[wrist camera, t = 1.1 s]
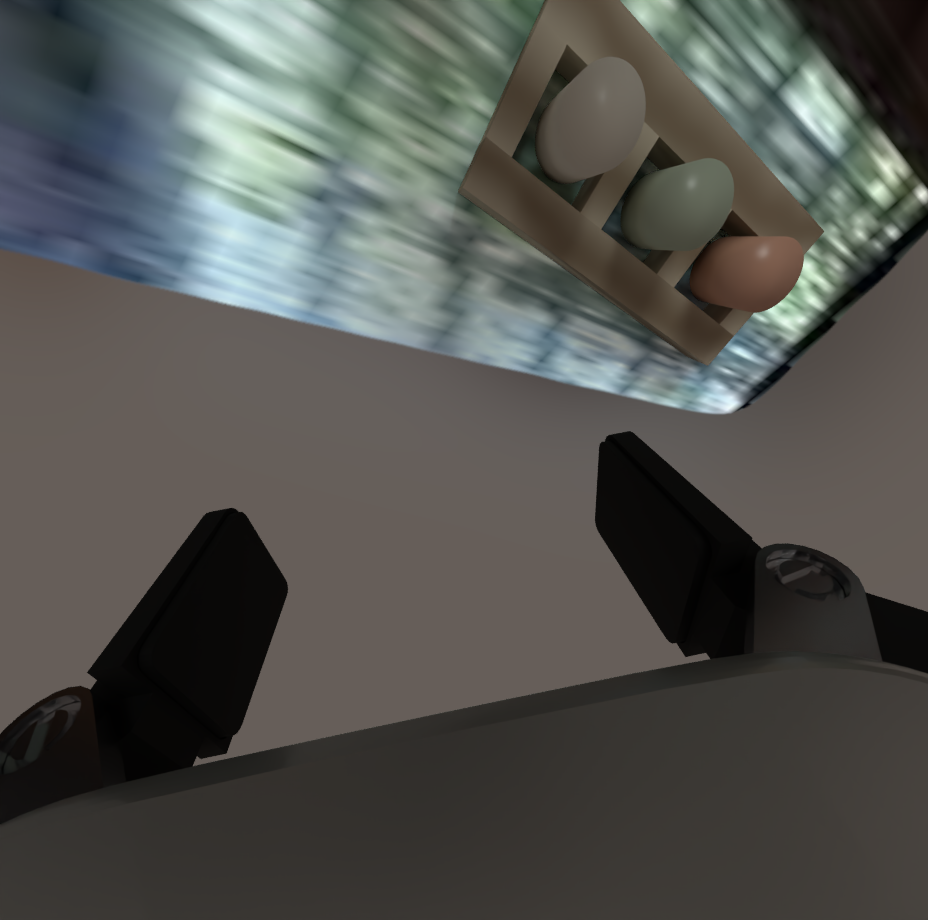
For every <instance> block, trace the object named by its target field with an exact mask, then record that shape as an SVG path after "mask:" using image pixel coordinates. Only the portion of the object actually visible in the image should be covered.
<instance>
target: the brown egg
mask: <svg viewBox="0 0 928 920" xmlns="http://www.w3.org/2000/svg"><path fill="white" fill-rule="evenodd" d="M803 261H804V255H803V250H802V247H801V245H800V244H799V242H798V241H797V240H795V239H794V238H791V237H786V236H729V237H723V238H720V239H717V240H715V241H714V242H712V243H711V244H709V245H708V246H707V247H706V248H705V249H704V250H703V251H702V252H701V253H700V255H699V256H698V258H697V259H696V261H695V263H694V265H693V267H692V270H691V274H690V288H691V291H692V294H693V295H694V297H695V298H697V299H698V300H700V301H702V302H707V303H711V304H716V305H720V306H725V307H729V308H734V309H738V310H743V311H747V312H753V313H756V312H762V311H765V310H768V309H770V308H772V307H773V306H775V305H776V304H778V303H779V302H780V301H781V300H783V299H784V298H785V297H786V296H787V295H788V293H789V292H790V291H791V290H792V288H793V287H794V285H795V284H796V282H797V280H798V278H799V276H800V273H801V271H802V267H803Z"/></svg>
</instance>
